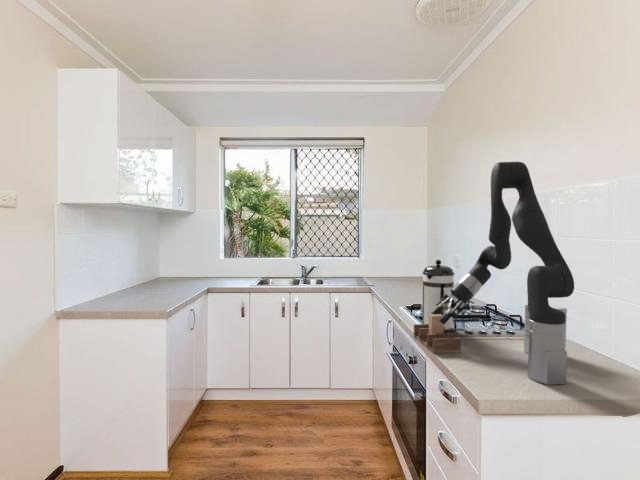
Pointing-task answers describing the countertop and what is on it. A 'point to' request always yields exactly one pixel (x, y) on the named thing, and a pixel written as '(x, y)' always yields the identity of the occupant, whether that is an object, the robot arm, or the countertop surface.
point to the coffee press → (436, 290)
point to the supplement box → (526, 332)
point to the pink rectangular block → (435, 324)
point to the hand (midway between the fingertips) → (436, 319)
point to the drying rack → (437, 340)
